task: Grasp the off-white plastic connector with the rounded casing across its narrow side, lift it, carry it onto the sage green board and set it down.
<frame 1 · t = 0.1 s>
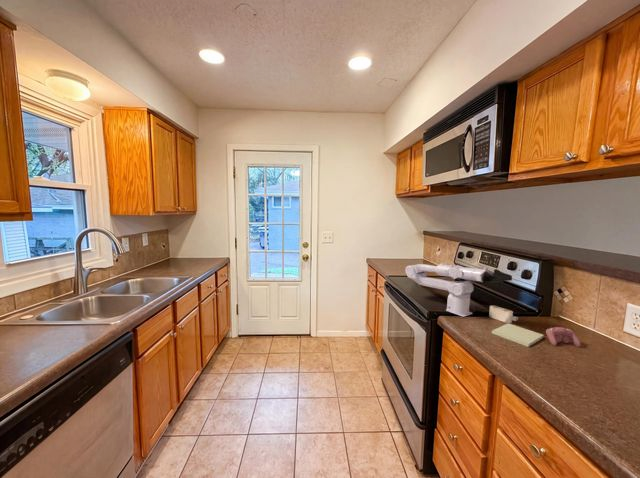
hand: (507, 279, 119), 22 cm above the table, tool horizontal, fingers open, 7 cm apart
white plastic connector: (500, 319, 130), on the table
pink curved piece: (561, 343, 108), on the table
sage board: (517, 335, 114), on the table
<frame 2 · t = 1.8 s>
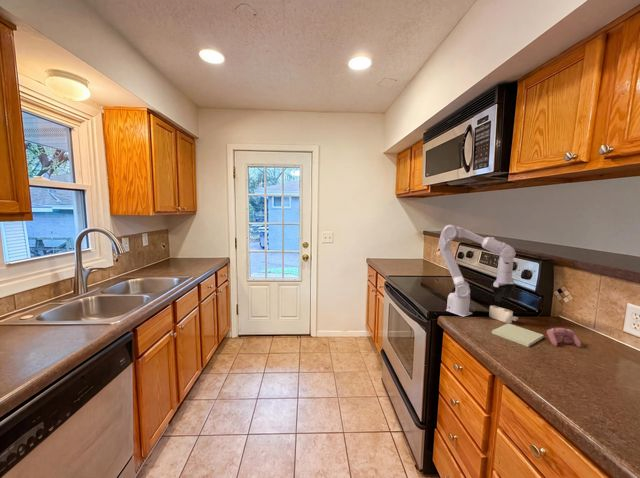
hand: (502, 299, 129), 9 cm above the table, tool pointing down, fingers open, 7 cm apart
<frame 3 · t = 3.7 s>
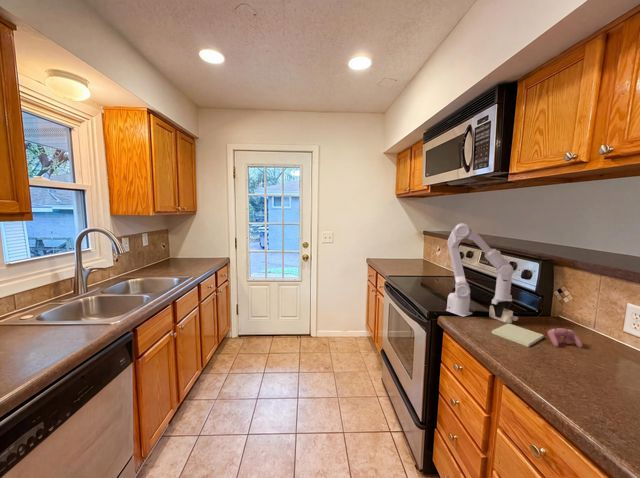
hand: (500, 316, 130), 1 cm above the table, tool pointing down, fingers closed on white plastic connector, 4 cm apart
white plastic connector: (500, 319, 130), on the table, touching gripper
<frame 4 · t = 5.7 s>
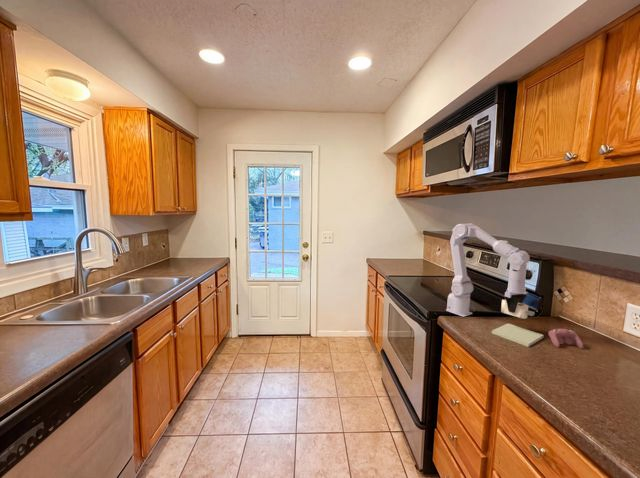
hand: (513, 311, 118), 9 cm above the table, tool pointing down, fingers closed on white plastic connector, 4 cm apart
white plastic connector: (513, 314, 118), point 7 cm above the table, touching gripper
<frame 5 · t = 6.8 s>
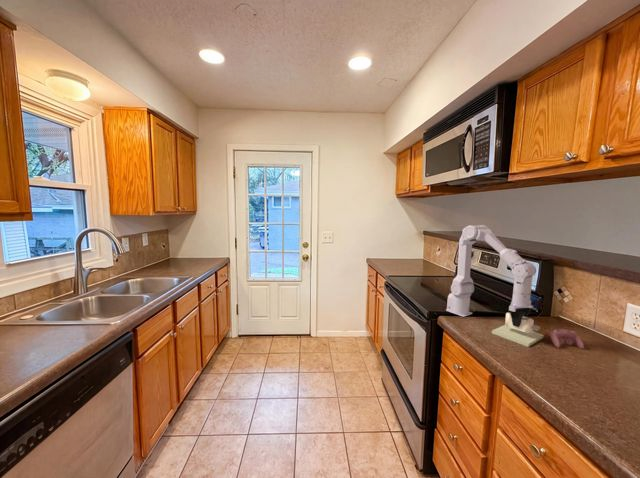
hand: (518, 324, 113), 5 cm above the table, tool pointing down, fingers closed on white plastic connector, 4 cm apart
white plastic connector: (518, 328, 113), point 3 cm above the table, touching gripper
when the fingers open (4 cm above the table, at t = 7.7 s): white plastic connector drops 1 cm, resting on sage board.
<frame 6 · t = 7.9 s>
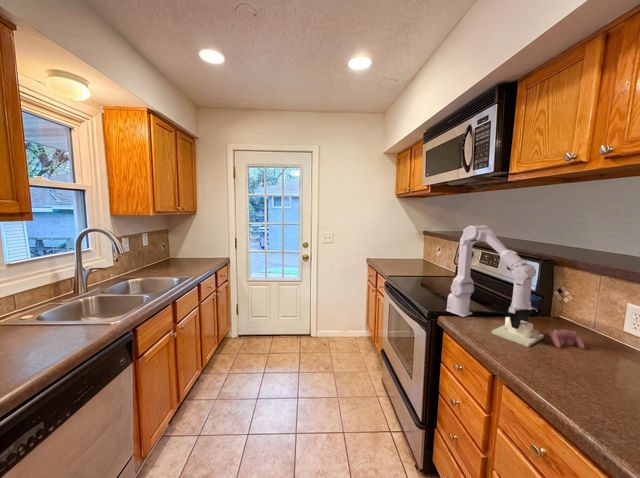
hand: (518, 326, 113), 4 cm above the table, tool pointing down, fingers open, 5 cm apart
white plastic connector: (517, 332, 114), point 1 cm above the table, touching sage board
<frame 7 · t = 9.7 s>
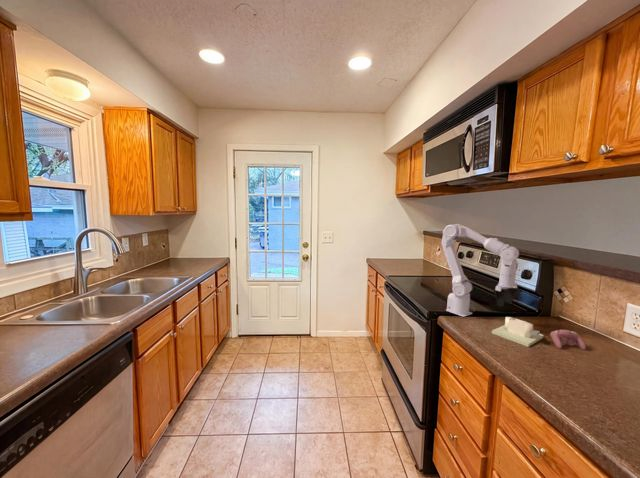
hand: (504, 304, 123), 9 cm above the table, tool pointing down, fingers open, 7 cm apart
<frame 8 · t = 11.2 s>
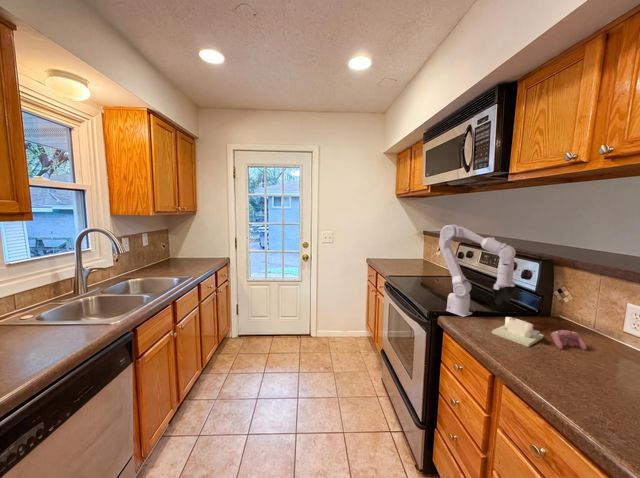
hand: (502, 302, 125), 9 cm above the table, tool pointing down, fingers open, 7 cm apart
at the end: white plastic connector inside the target area on the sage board (0.1 cm from its centre), point 1.2 cm above the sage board's base; white plastic connector touching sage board; the gripper is holding nothing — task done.
